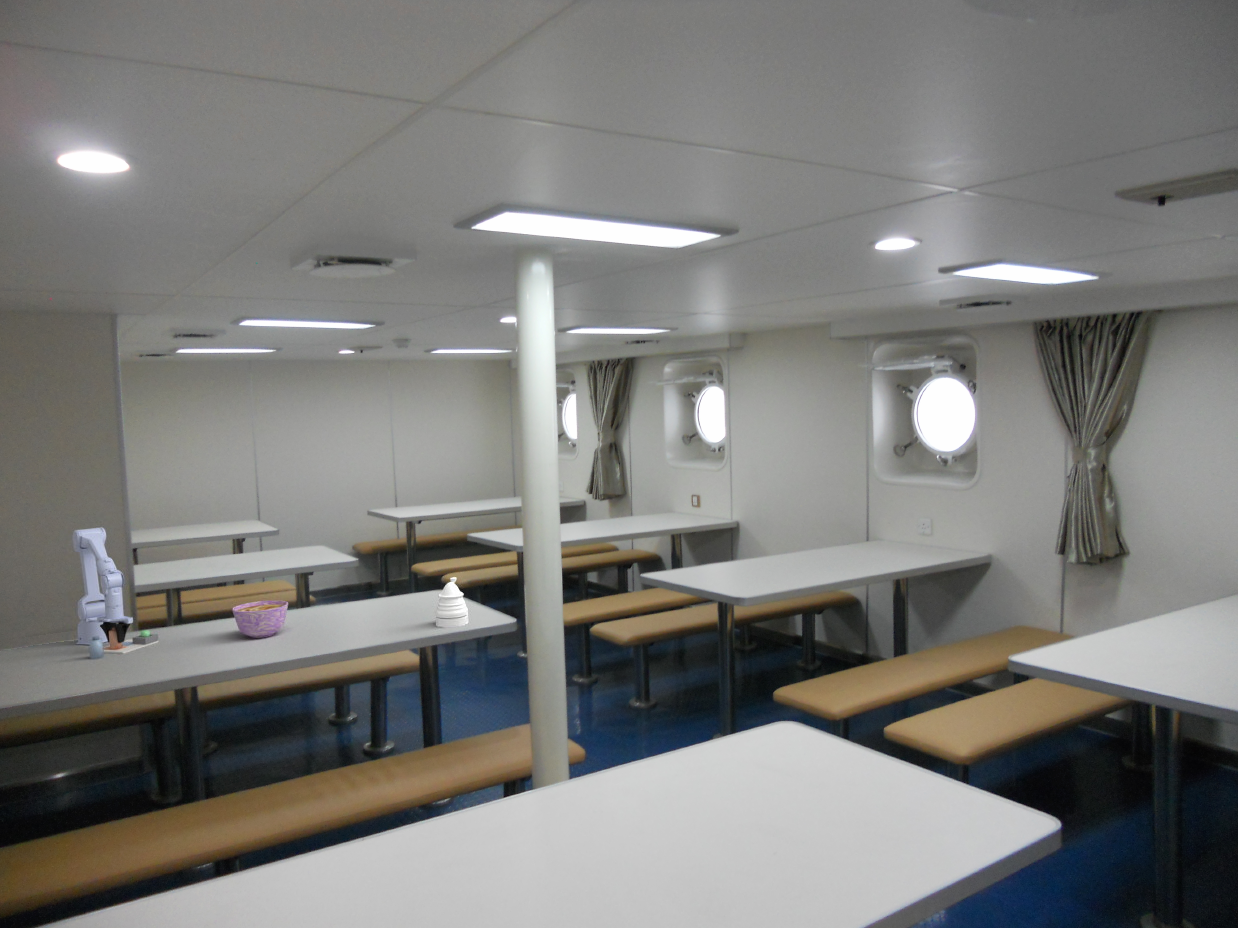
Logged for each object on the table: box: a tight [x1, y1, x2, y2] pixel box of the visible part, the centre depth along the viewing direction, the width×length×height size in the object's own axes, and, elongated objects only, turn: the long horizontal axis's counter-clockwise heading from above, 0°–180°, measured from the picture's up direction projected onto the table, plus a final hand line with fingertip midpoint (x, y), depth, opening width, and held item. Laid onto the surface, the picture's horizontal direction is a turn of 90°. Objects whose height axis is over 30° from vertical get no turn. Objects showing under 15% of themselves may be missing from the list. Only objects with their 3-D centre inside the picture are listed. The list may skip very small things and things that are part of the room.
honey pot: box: [434, 576, 469, 628], centre depth 330 cm, size 13×13×18 cm
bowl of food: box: [232, 600, 289, 639], centre depth 321 cm, size 20×20×12 cm
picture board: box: [103, 633, 160, 654], centre depth 310 cm, size 14×16×3 cm
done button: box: [140, 629, 151, 637], centre depth 314 cm, size 3×3×3 cm
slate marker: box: [88, 636, 105, 660], centre depth 296 cm, size 4×4×8 cm
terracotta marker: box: [108, 627, 122, 649], centre depth 306 cm, size 4×4×8 cm
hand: (116, 641), depth 307 cm, fingers closed on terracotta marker, 4 cm apart
